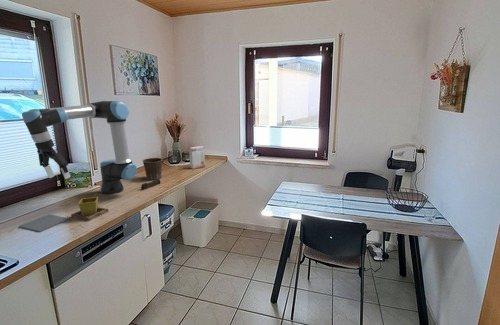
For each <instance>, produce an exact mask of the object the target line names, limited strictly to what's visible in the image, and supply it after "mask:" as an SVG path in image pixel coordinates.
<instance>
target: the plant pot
mask: <svg viewBox="0 0 500 325" xmlns="http://www.w3.org/2000/svg"><path fill="white" fill-rule="evenodd" d="M142 164H143V166H144V171H145V176H146V180H147V181H148V180H149V181H151V180H152V181H154V180H157V179H159V180H160V179H162V177H163V176H162V171H163V169H162V168H163V158H160V157H151V158H150V157H148V158H145V159H142Z"/></svg>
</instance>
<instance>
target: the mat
mask: <svg viewBox="0 0 500 325" xmlns="http://www.w3.org/2000/svg"><path fill="white" fill-rule="evenodd" d="M69 220H70V218H68V217H64V216H59V215H55V214H47V215H44V216H42V217H38V218H36V219H33V220H31V221H28V222H26V223H24V224H20V225H18V228H21V229H24V230H30V231H33V232H38V233H41V232H44V231H46V230H48V229H51V228H53V227H56V226H57V225H59V224H62V223H65V222H67V221H69Z"/></svg>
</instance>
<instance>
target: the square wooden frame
mask: <svg viewBox="0 0 500 325" xmlns="http://www.w3.org/2000/svg"><path fill="white" fill-rule="evenodd" d="M106 213H109V208H104V207H99V206H98V208H97V211H96V213H95V214H94V215H92V216H84V215H83V214H82V213H81V211H80V210H78V211H76V212H73V213H72V214H70V217H71V218H73V219H77V220H83V221H87V222H89V221H92V220H94V219H96V218H98V217H100V215H101V216H103V215H105V214H106ZM102 214H103V215H102Z"/></svg>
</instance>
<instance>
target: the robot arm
mask: <svg viewBox="0 0 500 325" xmlns="http://www.w3.org/2000/svg"><path fill="white" fill-rule="evenodd" d="M129 114H130V110H129V108H128V106H127V104H125V103H124V102H123V101H118V100H102V101H100V100H99V101H96V102H90V103H86V104H85V105H75V106H74V105H73V106H62V107H51V108H50V107H49V108H38V109H37V108H33V109H31V108H30V109H29V110H27V111H24V112H22V113H21V116H22V120H23V123H24V124H25V127H26V128H27V131H28V132H29V135H30V136H31V139H32V141H33V143H34V145H35V147H36V149H37V150H36V152H37V155H38V160H39V166H41V167H43V168H44V170H45V172H46V175H47V176H48V178H49V179H52V178H53V177H55V174H54V171H53V169H52V167H51V165H50V159H51V160H52V161H54V162H55V163H56V164H57V165H58V166H59V169H60V171H61V173H62V176H63V178H64V179H65V180H67V179H70V178H71V174H70V172H69V169H68V167H67V166H68V165H69V162H68V161H67V160H66V159H65V157H64V156H63V155H62V154H61V152H60V150H59V149H58V148H55V149H54V148H53V147H54V146H55V143H54V141H53V139H52V137H51V136H52V135H50V132H49V130H48V127H51V126H56V125H58V124H62V123H65V122H67V121H68V120H75V119H83V118H89V119H105V120H106V123H107V124H109V126H110V132H111V139H112V143H113V144H112V146H113V151H114V157H115V158H113V159H108V160H107V159H106V160H103V161H101V162H100V176H101V187H100V193H101V194H104V195H113V194H118V193H121V192H124V185H123V183H122V181H121V180H123V181H131V180H133V179H134V178H135V176H136V175H137V172H138V168H137V165H135V164H134V163H133V160H132V158H130V155H129V147H128V141H127V140H128V139H127V134H126V127H125V124H126V122H127V118H128V117H129Z"/></svg>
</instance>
